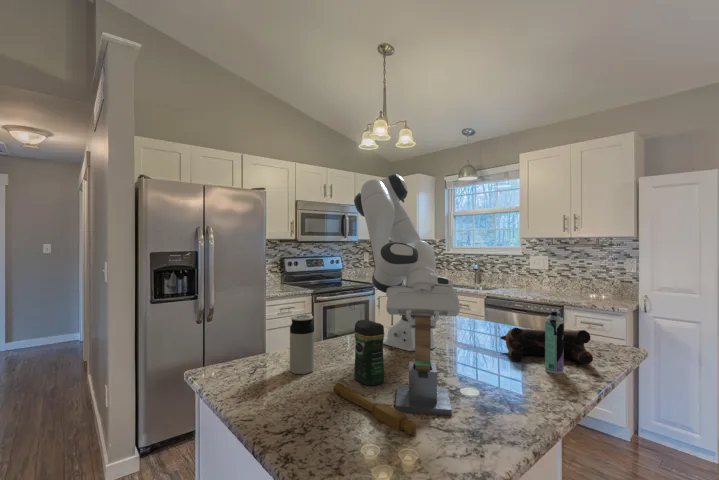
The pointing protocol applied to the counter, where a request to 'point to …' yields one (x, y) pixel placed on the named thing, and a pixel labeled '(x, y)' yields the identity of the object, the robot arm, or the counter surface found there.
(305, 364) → the travel mug
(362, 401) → the tap handle
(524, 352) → the stuffed animal
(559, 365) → the spray can
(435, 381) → the stand
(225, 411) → the counter surface
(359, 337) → the coffee jar
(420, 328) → the column
